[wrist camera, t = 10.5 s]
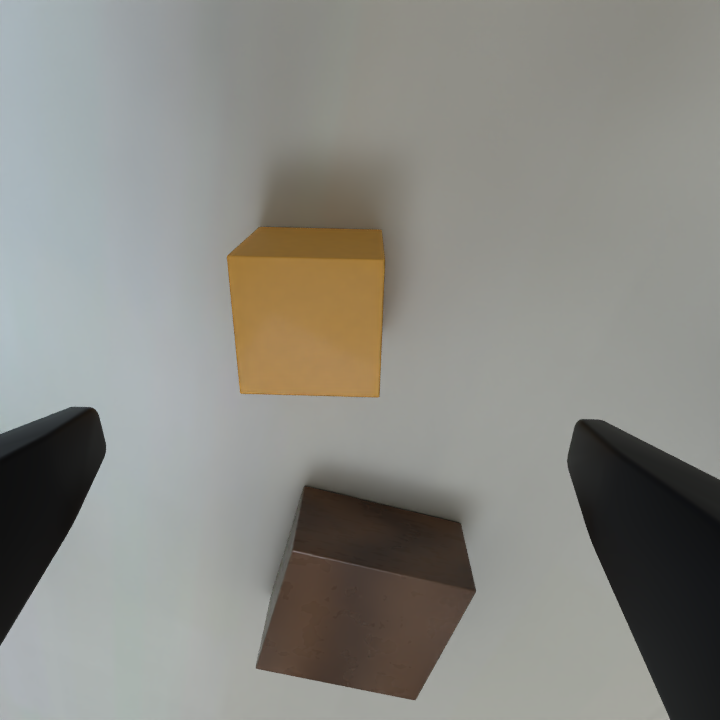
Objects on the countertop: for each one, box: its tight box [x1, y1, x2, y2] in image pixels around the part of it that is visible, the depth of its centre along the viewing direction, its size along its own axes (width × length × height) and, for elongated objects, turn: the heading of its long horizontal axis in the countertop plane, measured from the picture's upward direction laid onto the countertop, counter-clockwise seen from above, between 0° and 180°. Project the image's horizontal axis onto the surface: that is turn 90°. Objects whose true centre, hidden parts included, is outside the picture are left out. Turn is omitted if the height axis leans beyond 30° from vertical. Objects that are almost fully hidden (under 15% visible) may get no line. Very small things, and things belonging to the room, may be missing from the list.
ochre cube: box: [227, 227, 385, 397], centre depth 17 cm, size 5×5×5 cm
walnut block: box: [256, 486, 476, 700], centre depth 24 cm, size 8×8×4 cm
